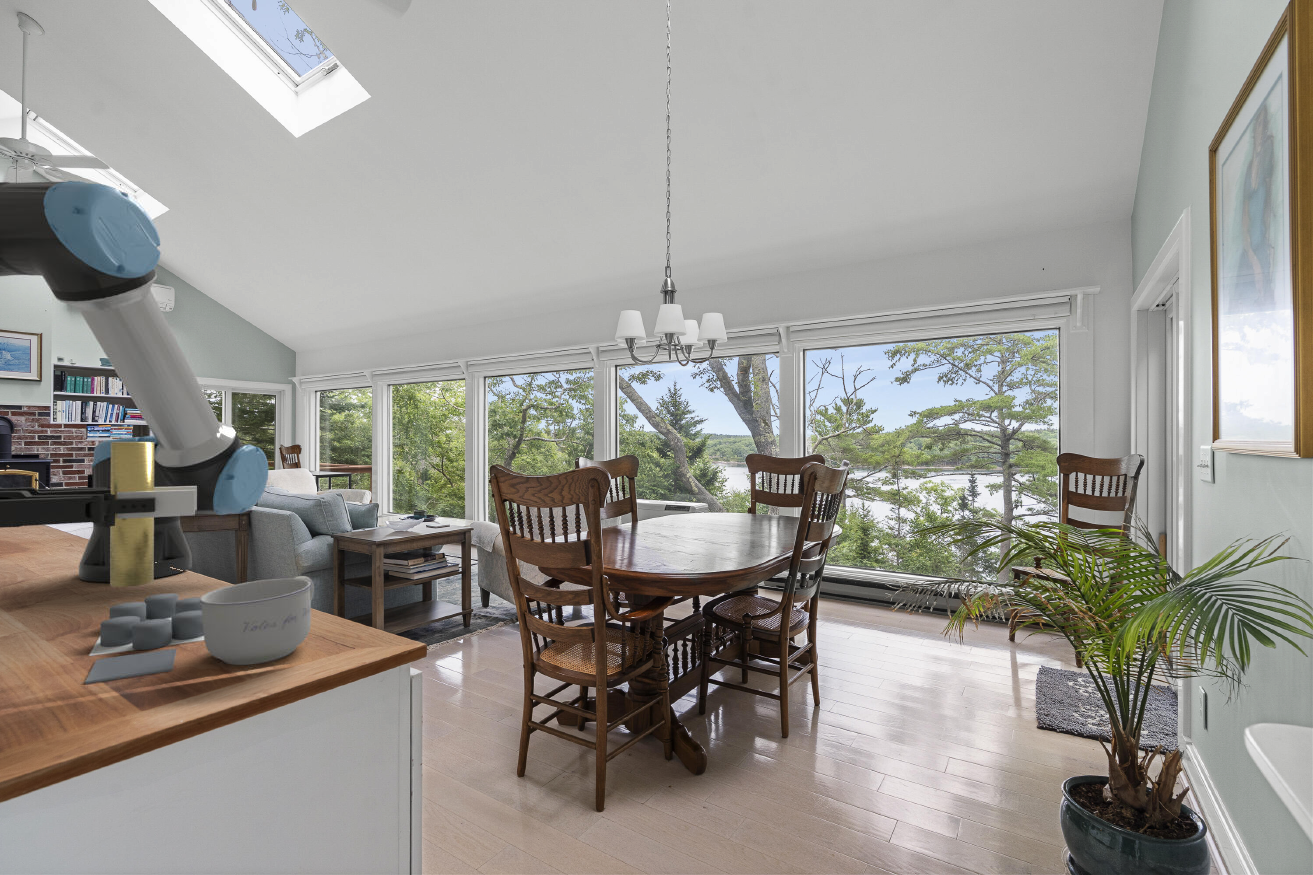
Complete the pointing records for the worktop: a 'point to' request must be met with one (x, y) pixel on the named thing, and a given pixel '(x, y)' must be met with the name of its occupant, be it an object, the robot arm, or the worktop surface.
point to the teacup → (257, 619)
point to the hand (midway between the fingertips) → (195, 500)
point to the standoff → (132, 534)
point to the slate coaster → (131, 665)
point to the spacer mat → (150, 624)
